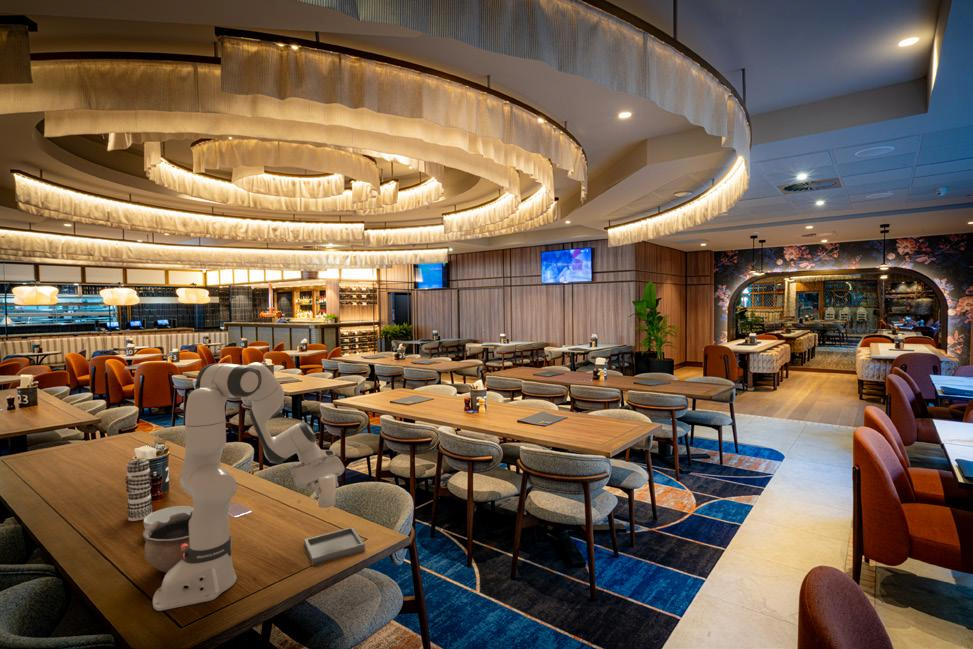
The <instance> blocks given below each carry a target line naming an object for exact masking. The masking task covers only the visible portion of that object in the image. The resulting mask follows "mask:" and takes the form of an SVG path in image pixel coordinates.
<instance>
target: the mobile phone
mask: <svg viewBox="0 0 973 649" xmlns="http://www.w3.org/2000/svg"><path fill="white" fill-rule="evenodd" d="M251 513H253V510H252V509H250V508H248V507H246V506H243V505H242V504H241V503H237V502H236V503H233V504H230V509H229V516H231V517H232V518H235V519H237V518H240V517H243V516H245V515H248V514H251Z"/></svg>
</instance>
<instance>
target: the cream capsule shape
mask: <svg viewBox="0 0 973 649" xmlns="http://www.w3.org/2000/svg"><path fill="white" fill-rule="evenodd" d="M317 484H318V486H317V487H318V488H319V487H320V489H321V493H319V494H317V495H318V507H319V508H322V509H327V508H332V507H334V506H336V505H337V495H336V494H337V490H336V489H337V487H336V481H335V474H327V475H324V476H321V477H318V483H317Z"/></svg>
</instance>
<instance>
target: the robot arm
mask: <svg viewBox="0 0 973 649" xmlns="http://www.w3.org/2000/svg"><path fill="white" fill-rule="evenodd" d="M194 388H195V389H194V390H192V391H191V392H190V393H189V394H188V396H187V401H186V406H185V415H184V416H185V418H184V424H185V425H184V427H185V431H184V432H185V435H184V436H185V450H184V452H185V453H184V457H183V463H182V468H181V471H180V473H179V477H178V480H179V484H180V487H181V489H182V490H183V491H184V493H186V494H187V495H188V496H190V497H191V498H192V502H193V503H192V504H193V507H192V508H193V512H192V517H191V519H190V520H189V545H187V544H183V545H182V546H181V551H182V560H181V561H179V562H178V563H177V564H176V565H175V566H174V567H173V568H171V569H170V570H169V571H168V572H165V573H166V574H165V575H164V577H163V580H162V582H161V586H160V587H159V588H157V589H156V591H155V593H154V595H153V597H152V607H153V609H154V610H155V611H158V612H160V611H166V610H170V609H176V608H180V607H185V606H189V605H196V604H200V603H204V602H209V601H213V600H215V599H216V598H218V597H219V596H221V594H222V593H223V592H225V591H227V590H228V589H230V588H231V587H232V586H234V585H235V583H236V581H237V579H238V577H237V574H236V572H235V568H234V566H233V560H232V552H233V549H232V548H233V545H232V538H231V537H232V536H231V535H230V515H229V509H230V505H232V504H231V503H232V499H233V498H234V496H235V495H236V492H237V490H238V483H237V480H236V479H235V477H234V475H232V473H231V472H230V471H229V470H226V469H225V468H223V467H222V466H221V464H222V463H221V458H222V454H223V450H224V448H225V447H226V446H227V432H226V430H227V428H226V424H227V423H226V409H225V407H226V402H227V401H228V399H229V398H240V399H241V398H246V397H247V398H248V399H249V400H250V402H251V408H250V410H249V412H248V413H249V418H250V421H251V423H252V426H253V428H254V430H255V432H256V435H257V438H258V439H259V442H260V443H261V446H262V450H263V454H264V456H265V458H266V459H267V460H268V462H269V463H271V464H278V465H279V464H281V463H283V462H284V461H286V460H287V459H288V458H291V457H292V456H294V455H295V454H296V455H297V456H298V457H297V458H298V460H299V462H300V463H298V464H297V465H293V466H292V467H291V468H290V474H291V475H292V477H293V480H294V484H295V487H296V488H297V489H299V490H301V489H304V488H307V487H309V488H310V490H312V491H314V493H315V495H318V494H319V493H321V489H320V487H319V488H318V486H316V484H318V477H321V476H324V475H327V474H335V481H336V488H338V487H339V482H338V477H340V476H342V474H344V472H345V470H346V469H345V466H344V464H343V462H342V461H341V459H340V458H339V456H336V452H335V450H333V449H332V450H329V449H321V448H320V446H319V445H318V444H317V435H316V434H315V432H314V429H313V427H312V426H311V425H310V424H308V423H306V422H298V423H296V424H294V425H292V426H291V427H289V428H287V429H285V430H284V431H282V432H281V433H278V434H277V435H275V436H272V435H271V433H270V431H269V429H268V426H267V423H268V421H269V420H270V419H271V418H272V416H273V415H274V414H275V413H276V412H277V411H279V409H280V408H281V406H282V404H283V402H284V399H285V391H284V388H283V386H282V385H281V383H280V382H279V380H278V379H277V378H276V376H275V375H274V374H273V372H272V371H271V370H270V369H269V368H268V367H267V366H265V364H263V363H261V362H252V363H251V362H250V363H249V364H236V363H235V364H234V363H232V362H231V363H228V362H225V363H223V362H222V363H218V362H216V363H215V362H214V363H210V364H206V365H205V366H203V367H202V368H201V369H200V370H199V372H198V374H197V376H196V380H195V386H194Z"/></svg>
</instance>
